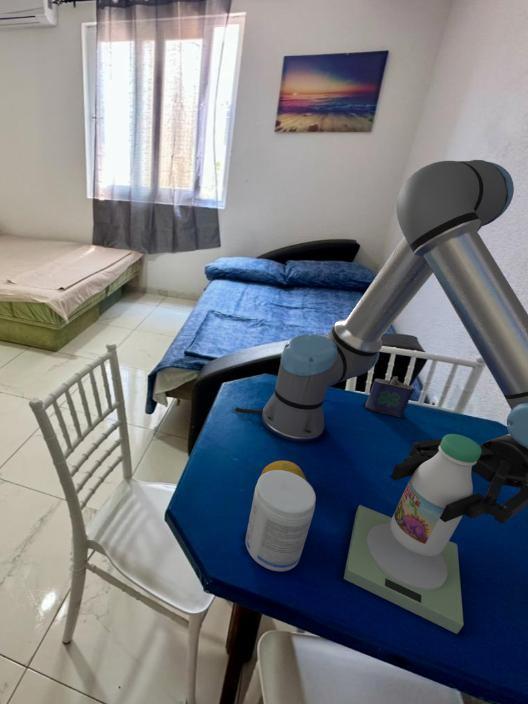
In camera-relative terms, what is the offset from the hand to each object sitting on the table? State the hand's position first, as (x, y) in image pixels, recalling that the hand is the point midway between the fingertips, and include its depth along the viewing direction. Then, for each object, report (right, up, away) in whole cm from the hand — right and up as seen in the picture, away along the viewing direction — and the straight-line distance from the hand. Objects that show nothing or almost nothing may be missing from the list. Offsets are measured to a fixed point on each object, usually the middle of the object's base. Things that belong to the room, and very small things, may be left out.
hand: (419, 492), depth 60 cm
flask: (+25, +4, +51) cm, 57 cm away
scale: (+4, -17, +11) cm, 20 cm away
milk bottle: (+4, -10, +7) cm, 13 cm away
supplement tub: (-18, -15, +13) cm, 27 cm away
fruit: (-13, -9, +24) cm, 29 cm away
